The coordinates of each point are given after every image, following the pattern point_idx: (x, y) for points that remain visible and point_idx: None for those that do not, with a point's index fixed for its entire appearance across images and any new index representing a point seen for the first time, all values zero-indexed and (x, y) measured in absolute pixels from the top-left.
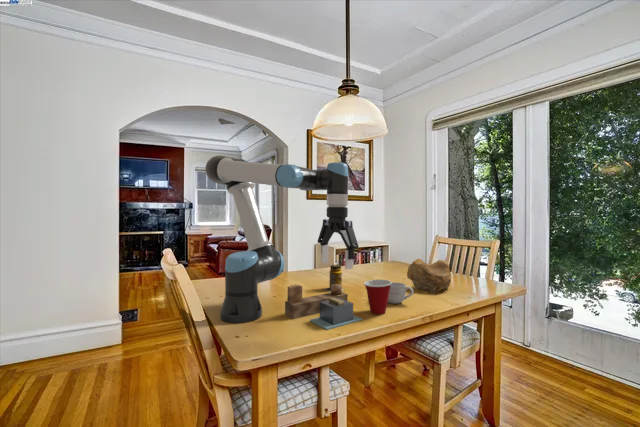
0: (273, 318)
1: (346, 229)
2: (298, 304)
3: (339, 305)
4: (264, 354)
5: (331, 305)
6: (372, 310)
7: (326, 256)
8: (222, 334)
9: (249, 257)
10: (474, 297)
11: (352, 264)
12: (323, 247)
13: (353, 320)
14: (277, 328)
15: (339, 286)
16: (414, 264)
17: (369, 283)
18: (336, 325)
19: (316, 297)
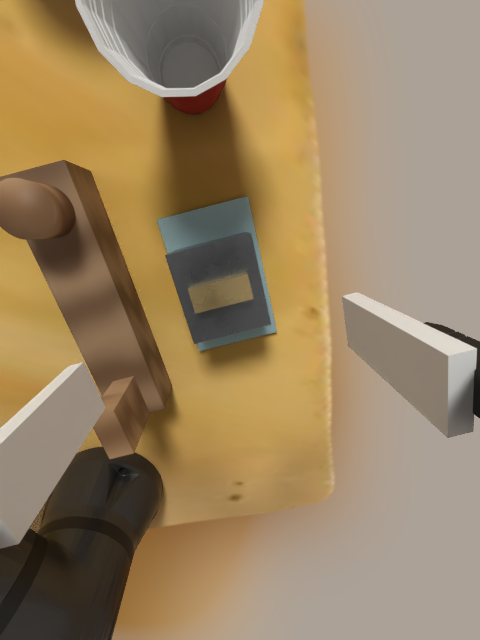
0: (150, 426)
1: None
2: (158, 393)
3: (257, 295)
4: (330, 466)
5: (247, 321)
6: (200, 111)
7: (67, 408)
8: (214, 517)
9: None
10: None
11: (371, 300)
12: (29, 515)
13: (251, 233)
14: (221, 429)
15: (50, 204)
16: None
17: (96, 12)
18: (267, 300)
19: (88, 313)
